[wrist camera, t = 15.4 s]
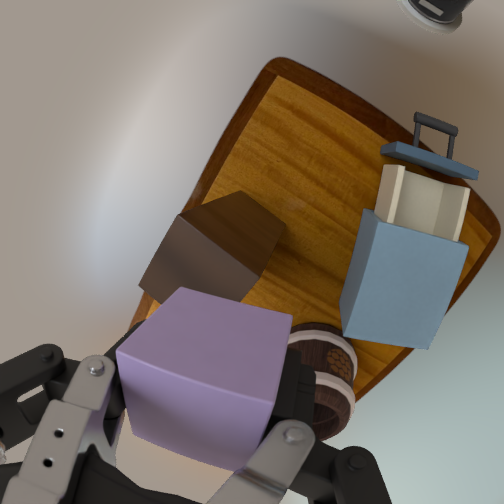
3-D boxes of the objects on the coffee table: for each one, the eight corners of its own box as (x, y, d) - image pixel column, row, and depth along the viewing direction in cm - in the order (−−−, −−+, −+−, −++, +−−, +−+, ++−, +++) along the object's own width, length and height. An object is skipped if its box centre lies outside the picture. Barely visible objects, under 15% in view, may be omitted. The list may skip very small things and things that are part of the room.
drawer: (386, 111, 32) (402, 100, 25) (456, 136, 30) (483, 132, 23) (361, 241, 38) (371, 258, 31) (430, 258, 36) (451, 277, 29)
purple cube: (180, 285, 11) (113, 349, 7) (293, 314, 10) (274, 404, 6) (177, 367, 13) (132, 435, 9) (270, 394, 12) (247, 476, 8)
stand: (240, 190, 41) (177, 214, 22) (285, 224, 41) (260, 277, 22) (210, 233, 43) (137, 285, 25) (253, 265, 43) (207, 340, 25)
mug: (373, 349, 43) (387, 414, 29) (316, 399, 49) (311, 462, 35) (279, 284, 43) (261, 339, 29) (228, 345, 49) (199, 404, 35)
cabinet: (363, 207, 38) (378, 221, 29) (440, 228, 36) (469, 246, 27) (338, 302, 42) (343, 336, 33) (410, 315, 40) (428, 350, 31)
